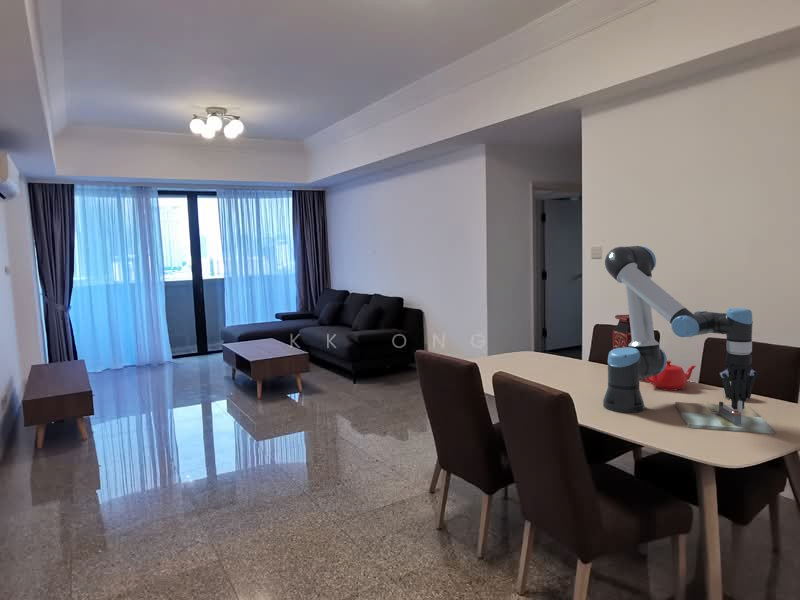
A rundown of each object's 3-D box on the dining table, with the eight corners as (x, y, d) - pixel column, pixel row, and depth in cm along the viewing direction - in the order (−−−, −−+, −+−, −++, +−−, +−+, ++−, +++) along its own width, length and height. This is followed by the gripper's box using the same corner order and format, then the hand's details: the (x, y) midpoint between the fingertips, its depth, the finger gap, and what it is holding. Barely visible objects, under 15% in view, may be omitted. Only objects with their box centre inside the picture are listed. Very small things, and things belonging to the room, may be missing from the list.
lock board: (688, 427, 185) (689, 410, 185) (675, 404, 212) (675, 390, 211) (775, 433, 177) (775, 416, 176) (750, 409, 203) (750, 394, 203)
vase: (611, 372, 268) (612, 314, 265) (637, 371, 269) (637, 313, 267) (626, 379, 254) (627, 318, 251) (653, 377, 256) (654, 316, 253)
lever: (726, 414, 193) (726, 403, 192) (742, 424, 182) (742, 413, 181) (718, 414, 193) (718, 403, 193) (733, 424, 182) (733, 413, 182)
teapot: (651, 392, 230) (652, 365, 229) (634, 384, 246) (634, 358, 244) (706, 390, 231) (707, 363, 230) (685, 381, 247) (686, 356, 246)
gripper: (749, 349, 188) (748, 413, 190) (714, 351, 187) (713, 415, 190) (764, 353, 180) (763, 420, 182) (727, 355, 180) (726, 422, 182)
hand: (737, 417), depth 186 cm, fingers closed
